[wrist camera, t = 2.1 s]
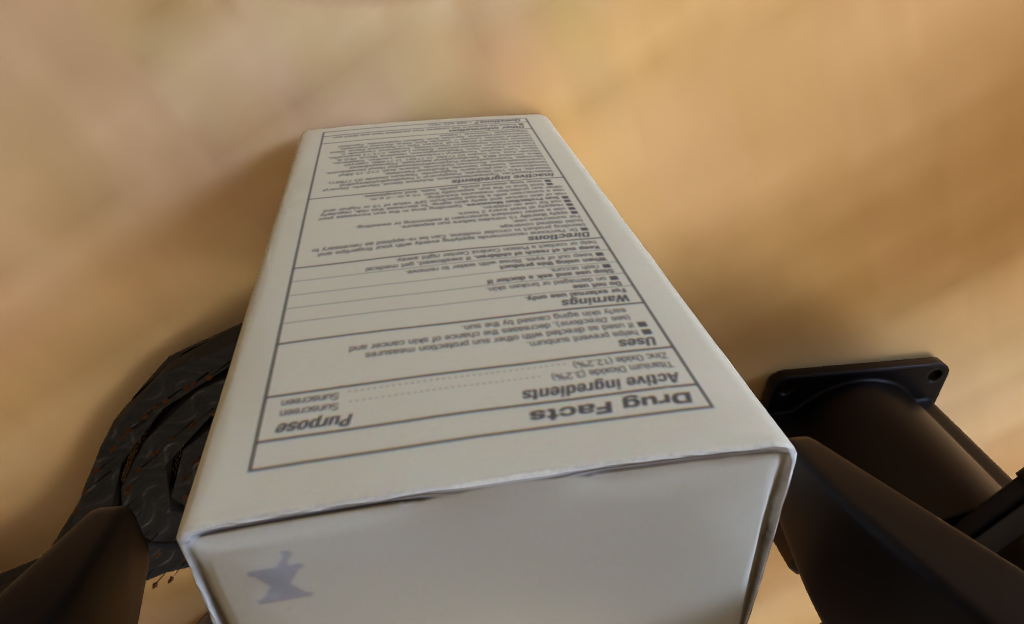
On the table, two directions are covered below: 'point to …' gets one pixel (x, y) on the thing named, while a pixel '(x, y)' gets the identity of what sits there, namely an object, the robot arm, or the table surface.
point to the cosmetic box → (475, 404)
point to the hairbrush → (158, 450)
